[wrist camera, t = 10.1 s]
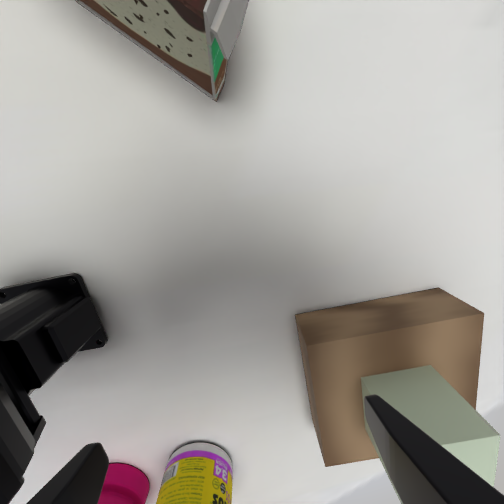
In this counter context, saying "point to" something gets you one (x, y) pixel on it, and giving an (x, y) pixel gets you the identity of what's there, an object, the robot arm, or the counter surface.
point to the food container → (180, 34)
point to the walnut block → (382, 358)
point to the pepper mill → (124, 485)
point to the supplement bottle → (197, 476)
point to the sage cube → (438, 416)
